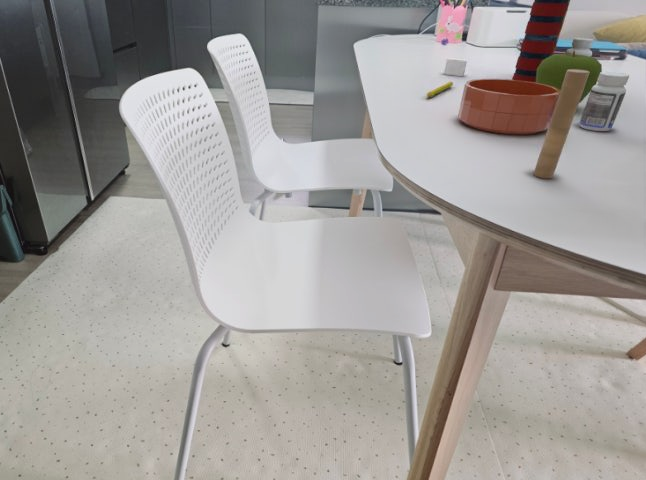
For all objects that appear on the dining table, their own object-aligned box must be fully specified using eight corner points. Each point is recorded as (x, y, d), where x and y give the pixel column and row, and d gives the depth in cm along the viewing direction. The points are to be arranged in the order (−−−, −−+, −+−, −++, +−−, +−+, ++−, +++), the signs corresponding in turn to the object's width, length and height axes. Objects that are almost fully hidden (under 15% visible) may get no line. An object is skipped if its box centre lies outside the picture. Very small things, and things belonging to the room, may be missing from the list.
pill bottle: (596, 123, 80) (616, 70, 75) (617, 131, 76) (640, 75, 71) (571, 124, 79) (590, 71, 74) (592, 132, 75) (613, 76, 71)
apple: (549, 114, 85) (568, 54, 80) (515, 101, 94) (530, 47, 88) (601, 113, 86) (624, 54, 81) (563, 100, 95) (581, 46, 90)
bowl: (533, 116, 83) (544, 80, 80) (561, 138, 72) (575, 97, 68) (451, 112, 85) (458, 77, 82) (465, 133, 73) (475, 93, 70)
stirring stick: (549, 172, 59) (585, 69, 52) (555, 179, 57) (593, 72, 50) (530, 171, 59) (564, 68, 52) (536, 177, 57) (571, 72, 51)
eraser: (444, 73, 121) (447, 58, 119) (463, 75, 120) (467, 59, 118) (443, 74, 121) (446, 58, 119) (462, 76, 119) (466, 60, 117)
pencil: (448, 86, 106) (448, 81, 106) (452, 86, 106) (453, 81, 105) (423, 98, 94) (424, 93, 94) (428, 99, 94) (429, 93, 93)
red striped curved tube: (541, 95, 100) (584, -46, 86) (506, 91, 103) (543, -46, 89) (548, 77, 118) (586, -41, 105) (519, 75, 121) (551, -41, 108)
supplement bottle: (582, 88, 107) (599, 40, 102) (556, 86, 109) (571, 39, 104) (579, 84, 112) (594, 38, 106) (554, 82, 113) (568, 37, 108)
